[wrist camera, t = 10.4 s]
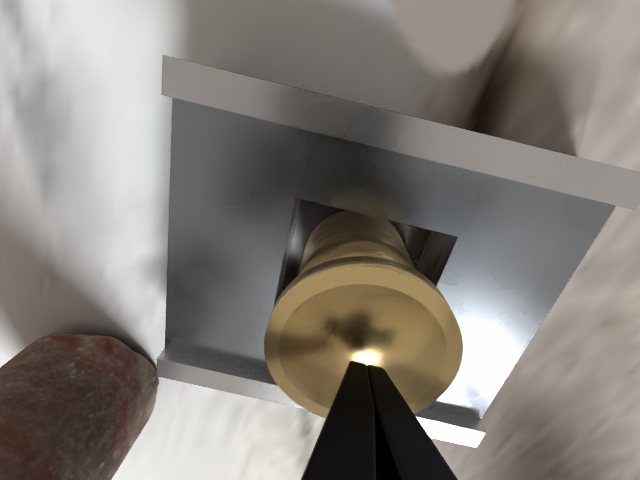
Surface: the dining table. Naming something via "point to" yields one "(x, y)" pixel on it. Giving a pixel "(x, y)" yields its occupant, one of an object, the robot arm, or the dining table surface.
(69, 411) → the candle
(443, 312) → the gold flared round piece
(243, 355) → the jig
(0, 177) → the dining table surface
